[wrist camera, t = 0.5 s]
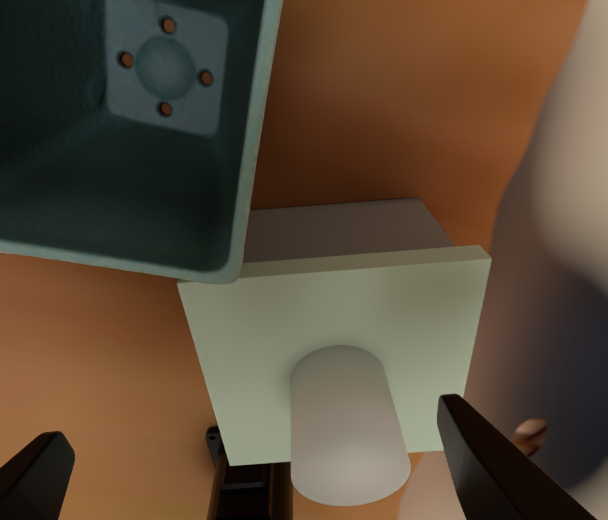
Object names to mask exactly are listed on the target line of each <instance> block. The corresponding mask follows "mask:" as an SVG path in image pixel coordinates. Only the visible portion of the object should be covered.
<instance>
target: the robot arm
mask: <svg viewBox="0 0 608 520" xmlns="http://www.w3.org/2000/svg"><path fill="white" fill-rule="evenodd" d="M437 426H438V430H439V434H440V437H441V441H442V444H443V448H444V451H445V455H446V458H447V462H448V465H449V469H450V472H451V476H452V480H453V483H454V487H455V490H456V493H457V496H458V499H459V501H460V504H461V507H462V509H463V512H464V514H465V517H466V519H467V520H597V519H596V518H595V517H594V516H592V515H591V514H590V513H589V512H588V511H587V510H586V509H585V508H583V507H582V506H581V505H580V504H579V503H578V502H577V501H576V500H575V499H574V498H573V497H571V496H570V495H569V494H568V493H567V492H566V491H564V489H563V488H562V487H560V486H559V485H558V484H557V483H556V482H555V481H554V480H553V479H552V478H550V477H549V476H548V475H547V474H546V473H545V472H544V471H543V470H542V469H540V468H539V467H538V466H537V465H536V464H535V463H534V462H533V461H532V460H531V459H530V458H528V457H527V456H526V455H525V454H524V453H523V452H522V451H521V450H520V449H518V448H517V447H516V446H515V445H514V444H513V443H512V442H511V441H510V440H508V439H507V438H506V437H505V436H504V435H503V434H502V433H501V432H500V431H499V430H497V429H496V428H495V427H494V426H493V425H492V424H491V423H490V422H489V421H487V420H486V419H485V418H484V417H483V416H482V415H481V414H480V413H479V412H478V411H476V410H475V409H474V408H473V407H472V406H471V405H470V404H469V403H468V402H467V401H465V400H464V399H463V398H462V397H461V396H460V395H458V394H455V393H453V394H442V395H440V397H439V400H438V409H437ZM206 441H207V444H208V447H209V450H210V453H211V456H212V460H213V463H214V466H215V474H214V480H213V486H212V492H211V498H210V504H209V510H208V516H207V520H293V483H292V480H291V461H290V462H277V463H264V464H250V465H237V466H230V464H229V461H228V458H227V454H226V451H225V447H224V444H223V440H222V437H221V434H220V430H219V428H215V429H209V430H208V431H207V432H206ZM74 462H75V453H74V450H73V449H72V447H71V445H70V444H69V442H68V440H67V439H66V437H65V436H64V434H63V433H62V432H60V431H54V432H45V433H42V434H40V435H39V436H37V437H36V438H35V439H34V440H33V441H31V442H30V443H29V444H28V445H27V446H26V447H24V448H23V449H22V450H21V451H20V452H19V453H17V454H16V455H15V456H14V457H13V458H11V459H10V460H9V461H8V462H7V463H6V464H4V465H3V466H2V467H1V468H0V520H58V518H59V514H60V511H61V507H62V504H63V500H64V497H65V494H66V490H67V487H68V483H69V480H70V476H71V473H72V469H73V466H74Z"/></svg>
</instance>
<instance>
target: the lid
mask: <svg viewBox="0 0 608 520" xmlns="http://www.w3.org/2000/svg"><path fill="white" fill-rule="evenodd" d="M491 260H492V259H491V257H490V256H489V255H488V254H487V253H486V251H485V250H484V249H483V248H482V247H481V246H480V245H470V246H457V247H445V248H432V249H419V250H407V251H394V252H381V253H368V254H356V255H343V256H330V257H317V258H305V259H292V260H279V261H267V262H254V263H242V268H241V273H240V275H239V278H238V279H237V280H236V281H235V282H234V283H229V284H222V285H218V284H203V283H198V282H195V281H187V280H184V279H178V281H177V286H178V290H179V293H180V296H181V300H182V303H183V307H184V310H185V314H186V317H187V320H188V324H189V327H190V331H191V334H192V338H193V341H194V344H195V348H196V351H197V355H198V358H199V362H200V365H201V368H202V372H203V375H204V379H205V382H206V386H207V389H208V392H209V396H210V399H211V403H212V406H213V410H214V413H215V416H216V420H217V423H218V427H219V430H220V434H221V437H222V440H223V444H224V447H225V451H226V454H227V458H228V461H229V464H230V466H237V465H250V464H264V463H277V462H290V461H291V480H292V483H293V485H294V487H295V488H296V490H297V491H298V492H299V493H300V494H302V495H303V496H305V497H306V498H308V499H310V500H312V501H315V502H318V503H322V504H326V505H333V506H354V505H362V504H367V503H371V502H374V501H377V500H380V499H382V498H385V497H387V496H389V495H391V494H392V493H394V492H395V491H397V490H398V489H399V488H400V487H401V486H402V485H403V484H404V483H405V482H406V480H407V479H408V477H409V475H410V471H411V464H410V460H409V456H408V453H411V452H425V451H438V450H444V448H443V444H442V441H441V437H440V434H439V430H438V426H437V409H438V400H439V397H440V395H442V394H453V393H455V394H458V395H460V396H461V397H462V398H463V395H464V390H465V385H466V380H467V376H468V371H469V366H470V361H471V356H472V351H473V347H474V342H475V337H476V332H477V327H478V323H479V317H480V313H481V308H482V303H483V299H484V293H485V289H486V284H487V279H488V274H489V270H490V265H491Z"/></svg>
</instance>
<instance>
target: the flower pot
mask: <svg viewBox="0 0 608 520" xmlns="http://www.w3.org/2000/svg"><path fill="white" fill-rule="evenodd" d="M283 1H284V0H0V253H7V254H19V255H22V256H33V257H39V258H45V259H52V260H60V261H65V262H73V263H80V264H86V265H92V266H100V267H105V268H112V269H120V270H126V271H133V272H141V273H147V274H152V275H160V276H165V277H171V278H177V279H184V280H187V281H195V282H198V283H203V284H218V285H222V284H229V283H234V282H235V281H236V280H237V279H238V278H239V275H240V273H241V268H242V263H243V256H244V245H245V239H246V231H247V226H248V219H249V212H250V203H251V196H252V191H253V184H254V177H255V170H256V163H257V157H258V152H259V145H260V138H261V132H262V126H263V120H264V113H265V106H266V100H267V93H268V87H269V82H270V75H271V69H272V63H273V58H274V52H275V46H276V41H277V34H278V28H279V23H280V16H281V10H282V6H283ZM164 19H170V20H172V21H173V22H174V25H175V29H174V31H173V32H172V33H167V32H165V31H164V30H163V28H162V21H163V20H164ZM123 53H128V54H129V55H130V56H131V57H132V59H133V65H132V66H131V67H125V66H123V65H122V63H121V61H120V56H121V55H122V54H123ZM203 72H208V73H210V75H211V77H212V82H211V83H210V84H209V85H204V84H203V83H202V82H201V80H200V75H201V73H203ZM161 103H167V104H169V105H170V107H171V113H170V114H169V115H164V114H162V113H161V112H160V109H159V106H160V105H161Z"/></svg>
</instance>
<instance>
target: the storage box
mask: <svg viewBox="0 0 608 520" xmlns="http://www.w3.org/2000/svg"><path fill="white" fill-rule="evenodd" d="M445 247H456V246H455V244H454V243H453V242H452V241H451V239H450V238H449V237H448V235H447V234H446V233H445V231H444V230H443V229H442V227H441V226H440V225H439V223H438V222H437V221H436V219H435V218H434V217H433V215H432V214H431V213H430V211H429V210H428V209H427V207H426V206H425V205H424V203H423V202H422V201H421V199H420V198H419V197H413V198H401V199H388V200H376V201H363V202H350V203H338V204H325V205H313V206H300V207H288V208H275V209H263V210H250V212H249V219H248V226H247V231H246V239H245V245H244V256H243V263H254V262H267V261H279V260H292V259H305V258H317V257H330V256H343V255H356V254H368V253H381V252H394V251H407V250H419V249H432V248H445Z"/></svg>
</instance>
